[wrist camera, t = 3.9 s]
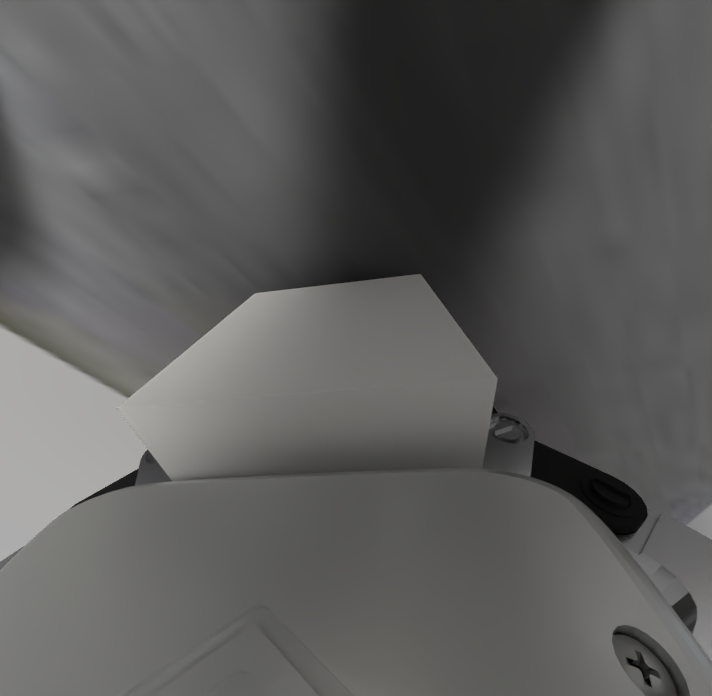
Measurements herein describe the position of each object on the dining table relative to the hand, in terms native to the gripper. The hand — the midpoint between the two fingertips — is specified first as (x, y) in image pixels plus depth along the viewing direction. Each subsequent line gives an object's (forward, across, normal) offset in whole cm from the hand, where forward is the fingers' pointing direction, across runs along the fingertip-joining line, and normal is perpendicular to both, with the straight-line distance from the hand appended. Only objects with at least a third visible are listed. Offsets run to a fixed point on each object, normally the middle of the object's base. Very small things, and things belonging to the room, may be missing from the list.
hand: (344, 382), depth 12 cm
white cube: (+2, 0, 0) cm, 2 cm away
